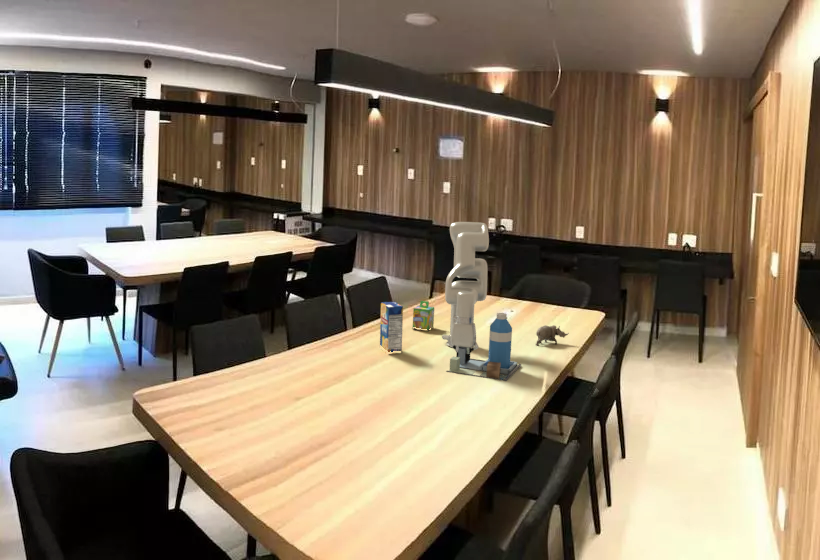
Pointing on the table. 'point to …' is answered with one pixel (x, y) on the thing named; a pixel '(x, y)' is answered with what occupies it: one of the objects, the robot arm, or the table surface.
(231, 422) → the table surface
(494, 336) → the water bottle
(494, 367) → the walnut cube
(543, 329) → the rhinoceros figurine
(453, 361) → the strip
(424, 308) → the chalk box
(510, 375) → the lane rails
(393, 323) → the beverage box
